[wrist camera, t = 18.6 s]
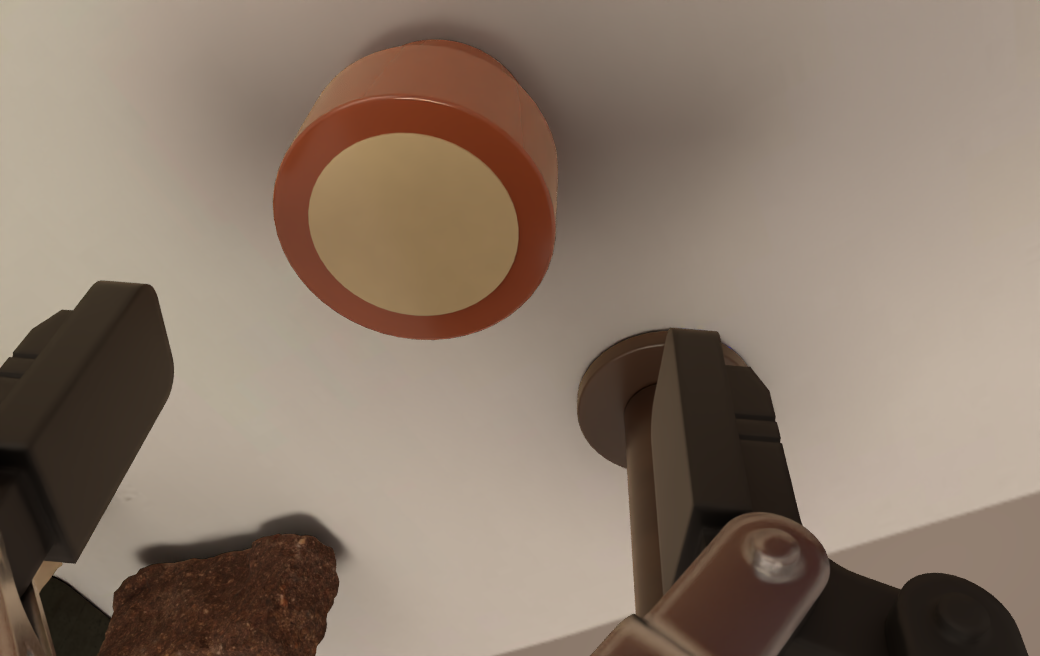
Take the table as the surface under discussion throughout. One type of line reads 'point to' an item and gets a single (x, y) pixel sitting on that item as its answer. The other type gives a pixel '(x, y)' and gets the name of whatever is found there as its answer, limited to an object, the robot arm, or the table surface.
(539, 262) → the terracotta bowl
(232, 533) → the table surface
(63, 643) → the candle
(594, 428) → the walnut post
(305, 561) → the stone
